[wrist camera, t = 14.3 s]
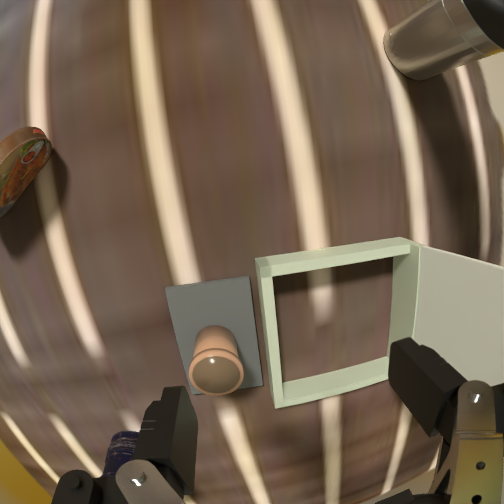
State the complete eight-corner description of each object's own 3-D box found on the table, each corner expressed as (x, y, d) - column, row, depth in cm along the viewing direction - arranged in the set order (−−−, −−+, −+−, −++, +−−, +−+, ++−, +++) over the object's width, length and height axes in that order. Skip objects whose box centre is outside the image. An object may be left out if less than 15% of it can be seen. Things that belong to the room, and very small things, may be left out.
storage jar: (165, 467, 42) (159, 531, 27) (114, 457, 40) (99, 518, 26) (165, 436, 40) (156, 508, 26) (108, 424, 39) (85, 492, 24)
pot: (235, 319, 36) (239, 349, 29) (241, 358, 37) (246, 392, 30) (188, 326, 35) (183, 356, 28) (197, 364, 37) (195, 398, 30)
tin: (1, 223, 30) (-37, 233, 22) (-9, 207, 29) (-46, 214, 21) (63, 144, 29) (27, 136, 21) (52, 128, 29) (16, 117, 20)
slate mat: (248, 275, 36) (249, 277, 35) (262, 382, 39) (262, 385, 38) (166, 287, 35) (164, 289, 34) (192, 391, 38) (192, 394, 38)
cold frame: (414, 234, 37) (540, 278, 16) (404, 355, 42) (486, 436, 21) (254, 258, 35) (310, 361, 14) (270, 391, 40) (307, 517, 19)
